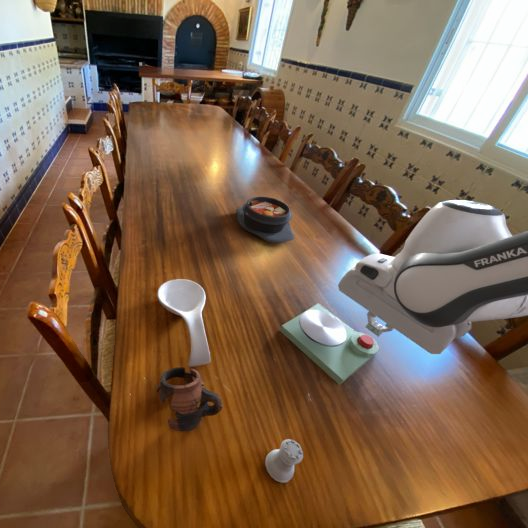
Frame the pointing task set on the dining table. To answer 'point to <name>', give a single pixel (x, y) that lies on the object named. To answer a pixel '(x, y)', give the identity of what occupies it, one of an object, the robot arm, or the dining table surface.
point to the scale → (331, 349)
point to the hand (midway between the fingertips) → (373, 330)
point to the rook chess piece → (284, 460)
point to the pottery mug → (188, 399)
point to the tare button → (365, 341)
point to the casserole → (266, 219)
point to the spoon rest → (188, 314)
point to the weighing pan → (322, 328)
